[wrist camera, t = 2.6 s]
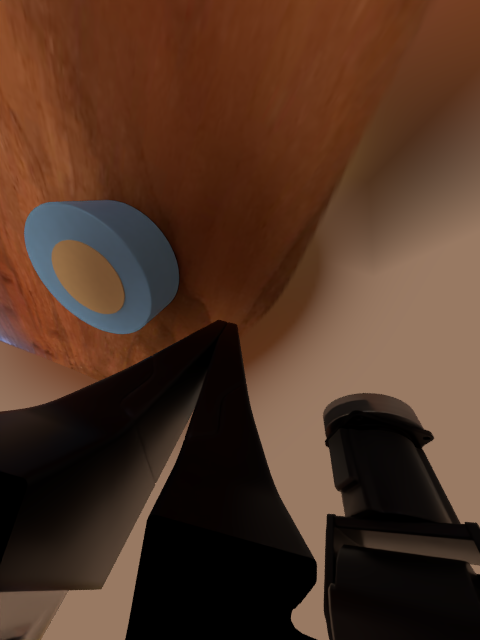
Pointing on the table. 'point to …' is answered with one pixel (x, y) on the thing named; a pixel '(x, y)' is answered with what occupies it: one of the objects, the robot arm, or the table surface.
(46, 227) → the tape roll
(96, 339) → the table surface
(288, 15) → the table surface
